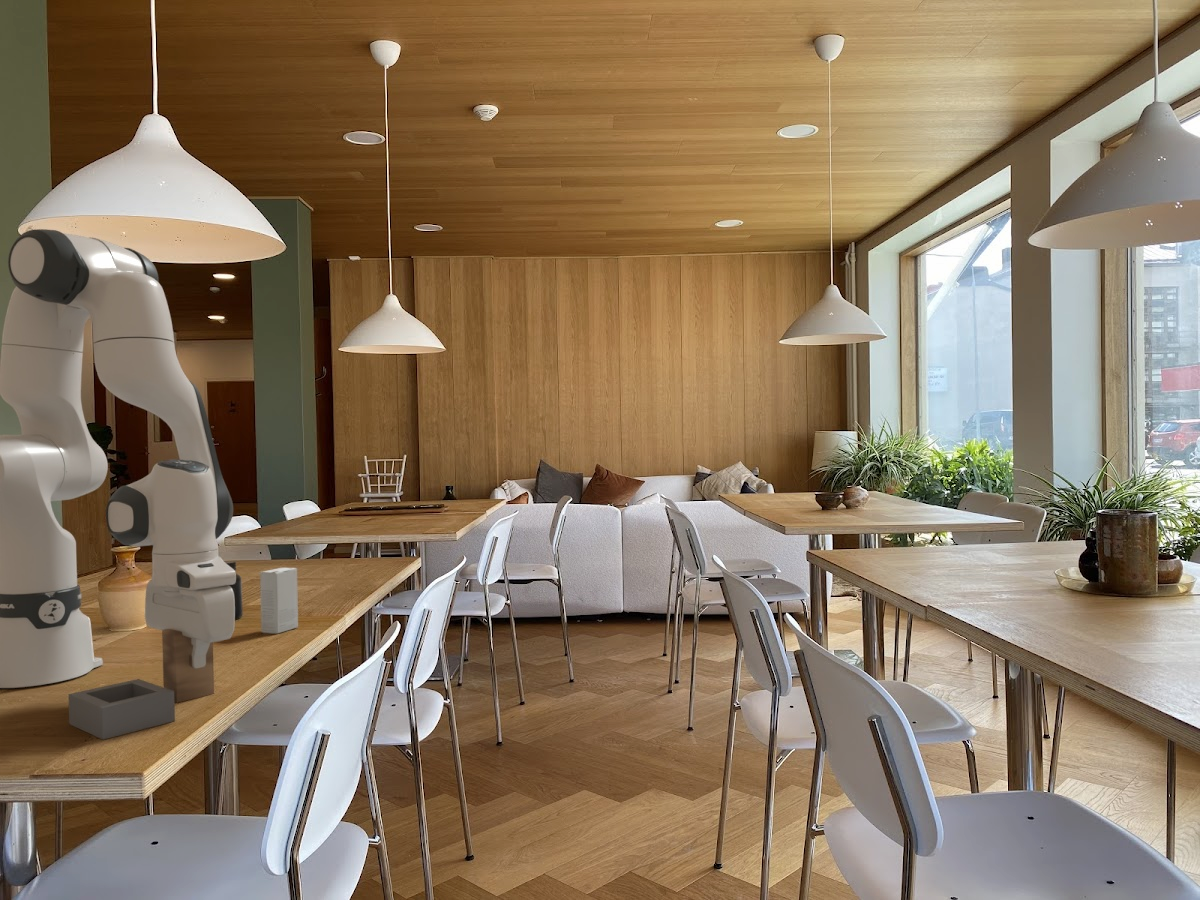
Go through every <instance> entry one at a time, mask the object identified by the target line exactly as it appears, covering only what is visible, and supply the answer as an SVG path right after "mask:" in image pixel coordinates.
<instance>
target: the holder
mask: <svg viewBox="0 0 1200 900" xmlns="http://www.w3.org/2000/svg"><path fill="white" fill-rule="evenodd" d="M175 709H176V708H175V702H174V691H172V690H169V689H166V688H164V686H160V685H158V684H155V683H152V682H148V681H145V680H143V679H140V678H136V679H132V680H128V681H123V682H120V683H119V682H118V683H114V684H110V685H105V686H100V687H95V688H91V689H86V690H83V691H78V692H77V691H76V692H72V693H68V721H69V722H68V724H69V725H70V726H73V727H75V728H77V729H79V730H82V731H83V732H86V733H88V734H89V735H92V736H94V737H97V738H98V739H100V740H103V741H104V740H107V739H111V738H115V737H119V736H123V735H127V734H131V733H135V732H138V731H141V730H145V729H146V730H147V729H151V728H153V727H156V726H157V727H158V726H161V725H164V724H168V723H172V722H175V719H176V718H175V713H176V712H175Z"/></svg>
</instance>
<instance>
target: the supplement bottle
mask: <svg viewBox="0 0 1200 900" xmlns="http://www.w3.org/2000/svg"><path fill="white" fill-rule="evenodd" d="M223 561H224V562H225V563H226V564H227V565H229V566H230V567H231V568H233V569H234V570H235V571H237V565H236V564H237V562H236V561H235V560H234V561H233V560H229V561H228V560H223ZM242 585H243V583H242V577H241V575H240V574H238V573H236V582H235V584H232V585H229V586H230V587H231V588H232V589H233V592H234V598H235V620H239V619H241V618H242V617H243V608H244V607H243V589H242V588H243V586H242Z"/></svg>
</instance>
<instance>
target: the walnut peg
mask: <svg viewBox="0 0 1200 900" xmlns="http://www.w3.org/2000/svg"><path fill="white" fill-rule="evenodd" d="M161 636H162V637H161V639H162V673H163V674H162V675H163V676H162V678H163V688H166V689H169V690H172V691H174V703H181V702H182V703H183V702H185V701H189V700H193V699H198V698H202V697H207V696H209V695H210V694H211V695H215V680H214V679H215V674H214V673H215V671H214V642H210V645H209V648H208V651H207V653H206V665H205V666H204V667H201V668H193V667H191V666H190V665H189V662H190V661H189V655H192V651H193V645H192V644H191V638H190V637H186V636H183V635H182V632H180V631H176V630H172V629H164V630H161ZM206 695H207V696H206ZM211 695H210V696H211Z"/></svg>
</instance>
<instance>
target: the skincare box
mask: <svg viewBox="0 0 1200 900" xmlns="http://www.w3.org/2000/svg"><path fill="white" fill-rule="evenodd" d="M259 573H260V574H259V575H260V576H259V577H260V578H259V579H260V580H259V581H260V586H259V587H260V624H261V625H260V627H261V633H263V634H272V635H274V634H275V635H277V634H281V633H284V632H287V631H290V630H293V629H297V628H298V627H299V611H298V610H299V607H298V606H299V604H298V603H299V602H298V568H296V567H278V568H274V569H269V570H265V571H260V572H259Z"/></svg>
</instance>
